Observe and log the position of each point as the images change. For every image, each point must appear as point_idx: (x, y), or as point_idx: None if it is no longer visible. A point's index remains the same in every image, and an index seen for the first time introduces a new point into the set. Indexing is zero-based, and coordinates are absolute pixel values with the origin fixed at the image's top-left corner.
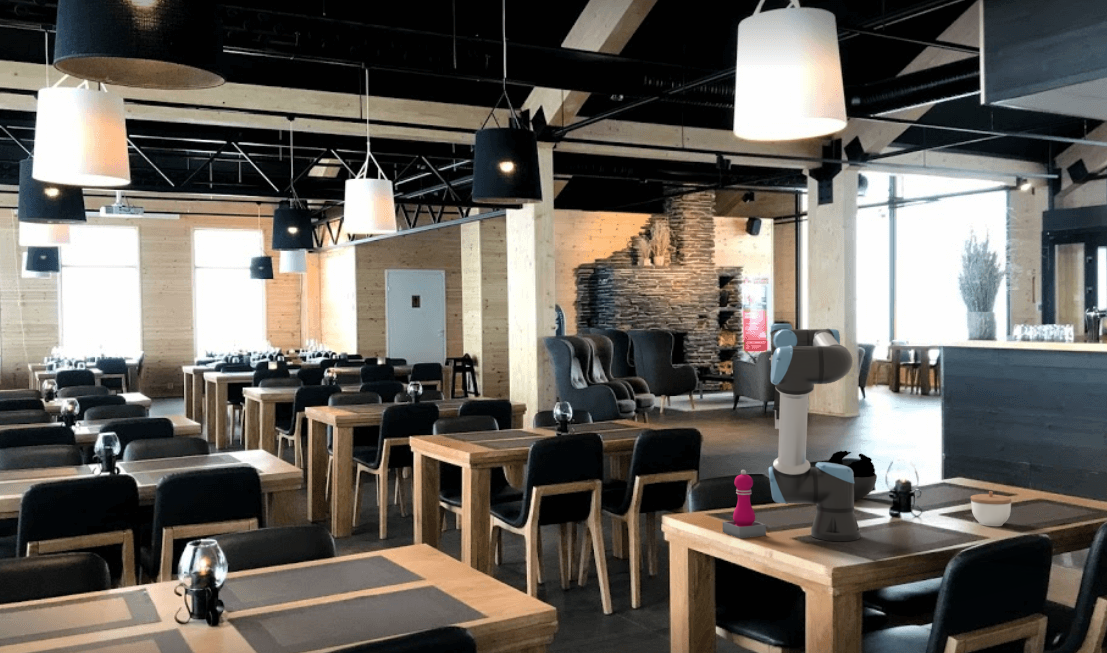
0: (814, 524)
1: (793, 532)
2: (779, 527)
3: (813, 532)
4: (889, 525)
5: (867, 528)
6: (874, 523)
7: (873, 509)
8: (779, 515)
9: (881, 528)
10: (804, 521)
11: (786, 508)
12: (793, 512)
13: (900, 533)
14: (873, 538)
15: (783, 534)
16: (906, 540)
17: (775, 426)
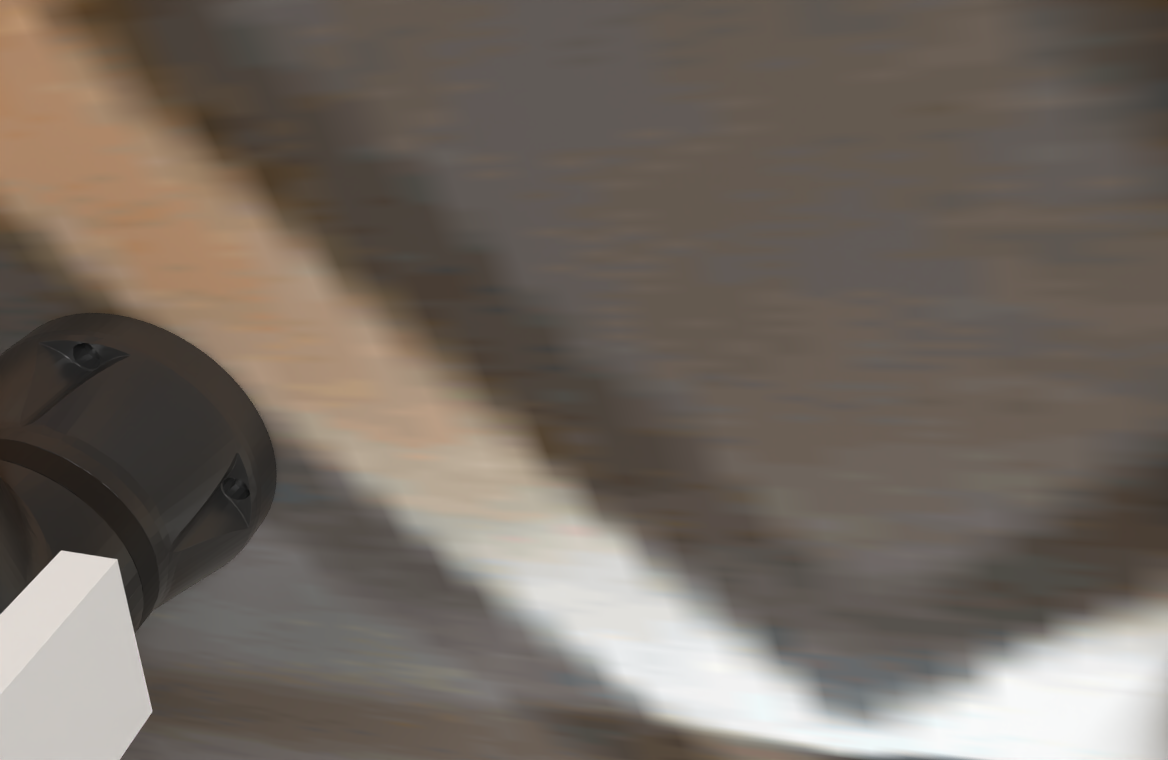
0: (4, 370)
1: (133, 199)
2: (253, 88)
3: (21, 340)
4: (572, 713)
5: (445, 608)
6: (609, 655)
7: (1119, 703)
8: (759, 48)
9: (472, 670)
10: (547, 263)
11: (1147, 88)
12: (931, 164)
13: (375, 728)
14: (194, 608)
15: (36, 134)
16: (221, 727)
17: (22, 605)
